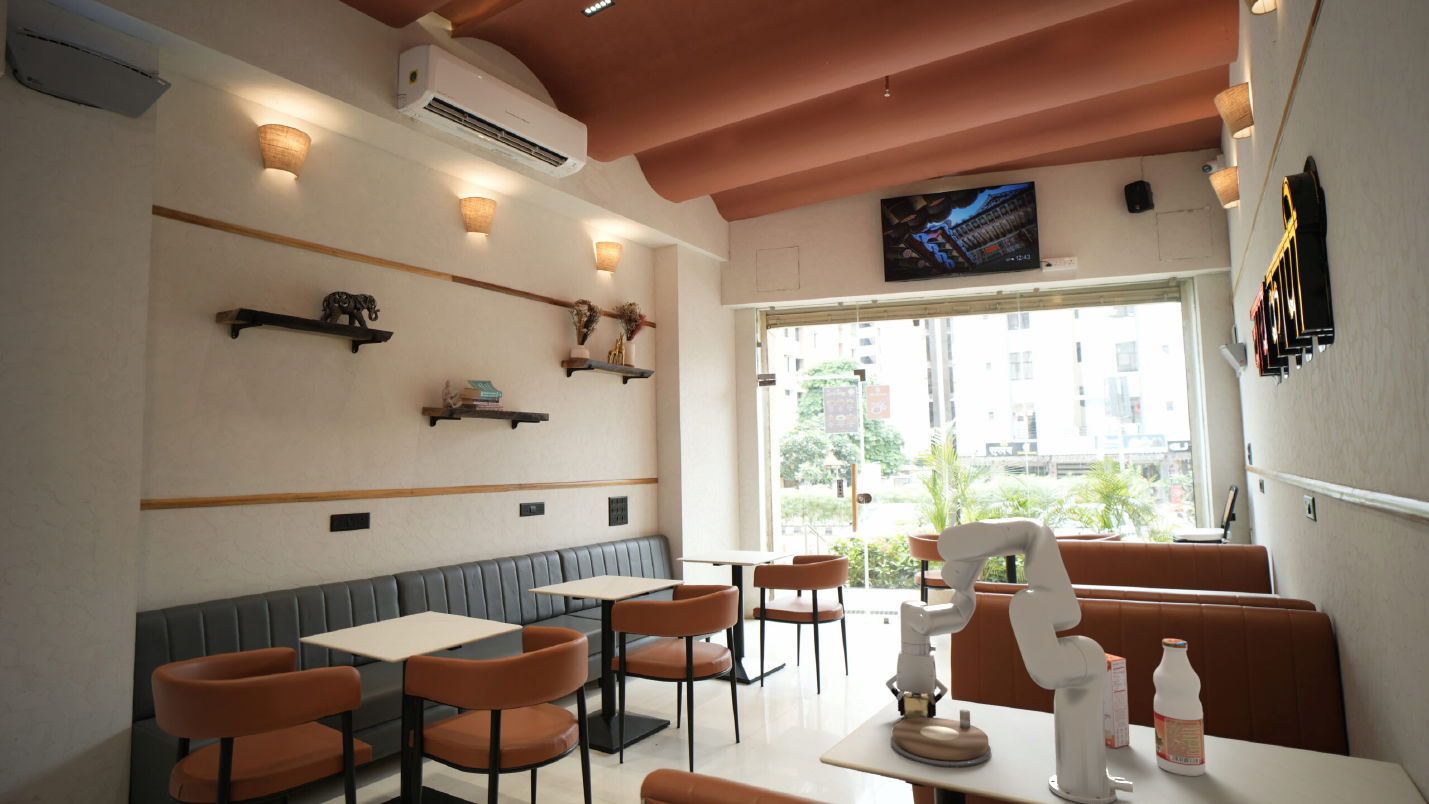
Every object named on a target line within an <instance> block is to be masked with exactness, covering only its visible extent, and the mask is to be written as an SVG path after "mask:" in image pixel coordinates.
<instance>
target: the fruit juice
mask: <svg viewBox="0 0 1429 804" xmlns="http://www.w3.org/2000/svg"><path fill="white" fill-rule="evenodd" d="M1161 645H1162V648H1163V654H1162V658H1161V661H1160V663H1159V665H1158V666H1157V667H1156V668H1155V670H1154V672H1153V677H1152V682H1153V684H1154V687H1155V694H1154V697H1153V717H1154V718H1153V719H1154V736H1155V737H1154V738H1155V739H1154V740H1155V741H1154V742H1155V759H1156V763H1157V765H1158V766H1159V768H1161V769H1163V770H1164V771H1167V772H1170V773H1172V774H1175V775H1181V776H1186V777H1187V776H1188V777H1197V776H1198V777H1199V776H1202V775H1204V774H1205V773H1206V753H1205V752H1206V751H1205V735H1204V734H1205V732H1204V712H1203V706H1202V702H1201V701H1200V698H1199V696H1200V695H1199V694H1200V691H1201V686H1202V685H1201V681H1200V677H1199V676H1198V674H1197V673H1196V672H1195V670H1194V668H1193V667H1192V665H1191V663H1190V660H1189V658H1188V654H1187V651H1188V648H1189V647H1188V642H1187V641H1185V640H1183V639H1179V638H1178V639H1177V638H1163V639H1162V641H1161Z"/></svg>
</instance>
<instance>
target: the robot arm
mask: <svg viewBox="0 0 1429 804" xmlns="http://www.w3.org/2000/svg"><path fill="white" fill-rule="evenodd" d="M936 548H937V552H938V554H939V556H940V557H941V558H942V559H943V560H944V561H945V562H944V565H943V566H942V568H941V571H940V577H941V578H942V580H943V582H944V583H945V584H946V585H947V586H949V587H950V588H951V589H952V590H954V592H953V595H952V597H951V598H950V601H949V602H948V603H940V604H934V605H929V604H928V603H927V602H925V601H923V600H916V599H915V600H913V599H911V600H909V599H908V600H904V601H903V602H901V604H900V610H899V611H900V642H901V643H900V647H901V648H900V650H899V651H898V657H897V663H896V664H897V665H896V674H895V675H893V676H892V677H891V678H890V679H888V680H887V681H886V682H885V685H886V687H887V688H888V689H889V690H890V692H891V694H892V695H893V696H894V698H896V700H897V712H899V713H900V714H899V715H900V717H904V716H903V694H905V693H909V692H913V693H921V694H927V696H928V698H929V700H930V704H929V718H935V717H937V703H938V702H939V701H940V700H942V698H943V697H944V696H945V695H946V694H947V693H948V691H949V688H948V687H946V686H945V685H944V684H943V683H942V682H941V681H940V680H938V678H937V670H936V669H937V668H936V661H935V657H934V653H932V652H935V651H936V650H937V647H936V645H933V644H932V643H931V637H935V636H936V637H937V636H942V635H948V634H955V633H959V632H961V631H962V630H963V629H965V627H966V626H967V624H968V623H969V622H970V620H971V618H972V616H973V614H974V613H975V611H976V607H977V595H976V591H975V585H976V583H977V582H978V579H979V577H980V575H981V573H982V571H983V569H984V567H986V564H987V563H988V560H989V559H990V558H997V557H1008V556H1018V555H1023V556H1024V558H1023V572H1024V573H1023V574H1024V577H1025V579H1026V582H1027V585H1028V588H1023V589H1021V590H1018V591H1017V592H1015V593H1014V595H1012V597H1011V599H1010V601H1009V607H1008V608H1009V609H1008V610H1009V611H1008V614H1009V619H1010V620H1009V621H1010V625H1011V628H1012V630H1013V634H1014V636H1015V639H1016V642H1017V645H1018V649H1019V651H1020V654H1021V656H1022V660H1023V664H1024V665H1025V666H1024V667H1025V668H1026V670H1027V672H1028V674H1029V676H1030V678H1031V679H1032V680H1033V682H1035V683H1036V685H1038V686H1040V687H1041V688H1042V689H1045V690H1055V691H1054V698H1053V716H1054V718H1053V719H1054V720H1053V721H1054V745H1055V746H1054V747H1055V775H1052V776H1050V777H1049V778H1048V787H1049V789H1050V790H1051V792H1053V794H1055V795H1056V796H1059V797H1061V798H1063V799H1065V800H1068V801H1072V802H1075V803H1079V804H1110V803H1113V802H1114V801H1115V800H1116V799H1117V798H1116V797H1117V791H1122V792H1126V793H1132V794H1133V792H1134V788H1133V787H1134V785H1133V781H1126V780H1125V778H1124V777H1119V776H1112V774H1109V771H1108V770H1109V769H1108V768H1107V753H1106V752H1107V751H1106V747H1107V746H1106V745H1105V723H1104V690H1105V683H1106V676H1107V658H1106V655H1105V653H1106V652H1105V651H1104V648H1103V647H1102V646H1101V645H1100V643H1098V642H1097V641H1095V640H1094V639H1092V638H1090V637H1088V636H1083V635H1069V636H1064V637H1057V635H1056V632H1062V631H1063V632H1064V631H1066V630H1067V631H1068V630H1070V629H1073V628H1076V626H1078V625H1079V624H1080V622H1081V620H1082V611H1081V607H1080V604H1079V600H1078V598H1077V595H1076V593H1075V590H1074V587H1073V585H1072V582H1071V580H1070V576H1069V575H1068V571H1067V570H1066V567H1065V565H1064V564H1065V563H1064V561H1063V559H1062V555H1061V552H1060V548H1059V544H1058V540H1057V537H1056V535H1055V533H1054V531H1053V530H1052V529H1051V528H1050V527H1049V525H1048V524H1046V523H1044V522H1043V521H1041V520H1038V519H1036V518H1031V517H1007V518H1006V517H1005V518H993V519H991V518H990V519H982V520H976V521H971V522H967V523H963V524H958V525H954V526H953V525H952V526H948V527H946V528H945V529H943V530H942V531H941V533H940V534H939V535H938V538H937V542H936ZM894 683H896V686H895V685H894ZM937 688H938V689H939V690H940V691H939V692H938V693H937V694H935V691H936V689H937Z"/></svg>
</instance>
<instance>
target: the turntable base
mask: <svg viewBox="0 0 1429 804" xmlns="http://www.w3.org/2000/svg"><path fill="white" fill-rule="evenodd" d="M988 745H989V743H988ZM890 746H891V748H892V749H893V751H894V752H895V753H896V754H898V755H900V756H901V757H903V758H905V759H907V760H910V761H912V762H916V763H919V764H923V765H925V766H926V765H927V766H932V767H937V768H938V767H939V768H950V769H951V768H955V769H956V768H959V769H960V768H969V767H976V766H979V765H982V764H984V763H987V761H989V760H990V759H991V756H992V748H991V745H989V748H988V751H987V753H985V754H984V755H982V756H980V757H977V758H973V759H967V760H940V759H933V758H927V757H923V756H919V755H916V754H913V753H910V752H908V751H905V750H903V749H902V748H900V747H899V746H897V745H896V744H895V742H894V741H893V734H892V735H891V738H890Z"/></svg>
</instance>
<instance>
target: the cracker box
mask: <svg viewBox="0 0 1429 804" xmlns="http://www.w3.org/2000/svg"><path fill="white" fill-rule="evenodd" d="M1105 655H1106V658H1107V676H1106V683H1105V690H1104V723H1105V747H1109V748H1111V749H1119V748H1122V747H1126V746H1129V745H1130V725H1129V724H1130V723H1129V719H1130V718H1129V702H1128V701H1129V700H1128V698H1129V697H1128V681H1127V679H1128V678H1127V675H1128V674H1127V659H1126V658H1124V657H1121V656H1117V655H1113V654H1110V653H1106V652H1105Z"/></svg>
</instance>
